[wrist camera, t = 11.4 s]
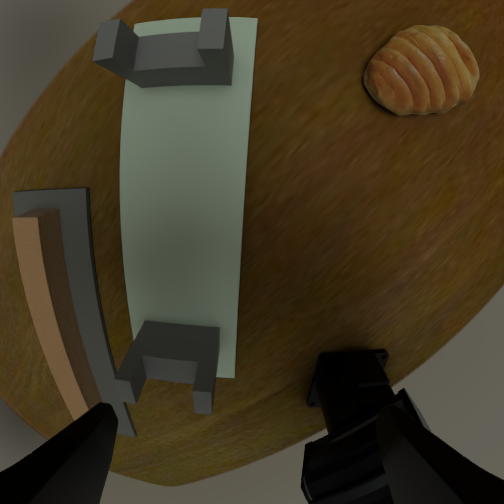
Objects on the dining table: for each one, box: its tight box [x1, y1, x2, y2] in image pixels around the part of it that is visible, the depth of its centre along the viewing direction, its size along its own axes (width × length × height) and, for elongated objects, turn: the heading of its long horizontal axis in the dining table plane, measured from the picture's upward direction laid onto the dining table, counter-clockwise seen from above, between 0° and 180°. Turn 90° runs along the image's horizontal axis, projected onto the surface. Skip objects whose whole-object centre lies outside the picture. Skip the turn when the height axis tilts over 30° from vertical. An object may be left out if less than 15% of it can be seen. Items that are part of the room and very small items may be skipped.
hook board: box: [93, 9, 258, 415], centre depth 15 cm, size 26×8×8 cm, turn 176°
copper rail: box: [12, 209, 102, 421], centre depth 20 cm, size 24×3×3 cm, turn 176°
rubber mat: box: [13, 188, 137, 438], centre depth 22 cm, size 27×8×1 cm, turn 176°
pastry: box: [363, 25, 479, 116], centre depth 14 cm, size 9×7×4 cm
